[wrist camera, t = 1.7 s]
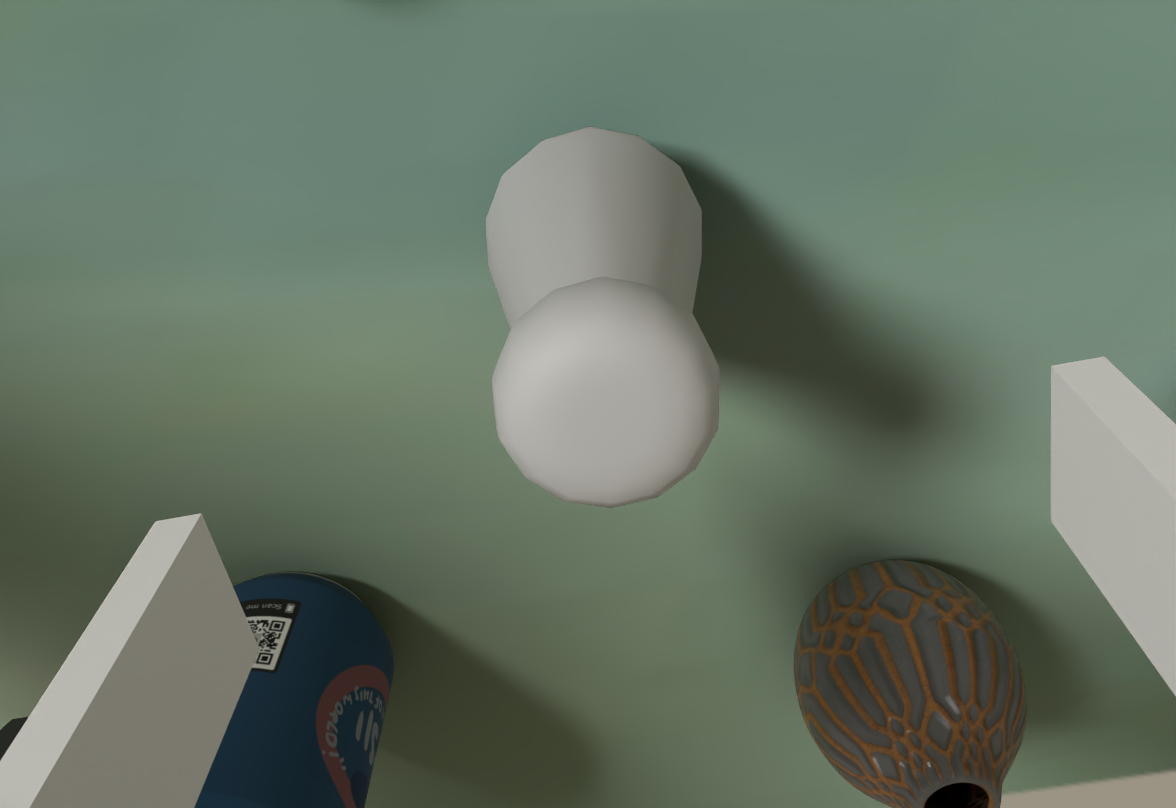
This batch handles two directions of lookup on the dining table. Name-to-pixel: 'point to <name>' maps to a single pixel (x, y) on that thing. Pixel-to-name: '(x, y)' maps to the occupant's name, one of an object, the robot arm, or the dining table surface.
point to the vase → (910, 687)
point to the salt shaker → (600, 319)
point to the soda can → (304, 699)
